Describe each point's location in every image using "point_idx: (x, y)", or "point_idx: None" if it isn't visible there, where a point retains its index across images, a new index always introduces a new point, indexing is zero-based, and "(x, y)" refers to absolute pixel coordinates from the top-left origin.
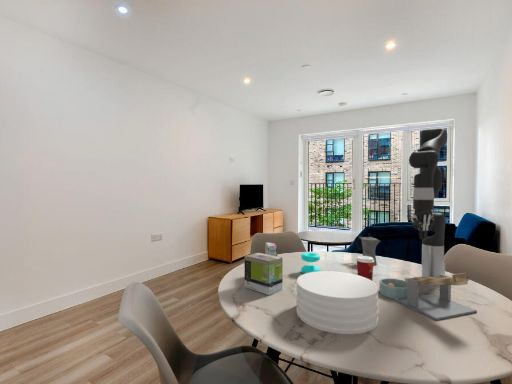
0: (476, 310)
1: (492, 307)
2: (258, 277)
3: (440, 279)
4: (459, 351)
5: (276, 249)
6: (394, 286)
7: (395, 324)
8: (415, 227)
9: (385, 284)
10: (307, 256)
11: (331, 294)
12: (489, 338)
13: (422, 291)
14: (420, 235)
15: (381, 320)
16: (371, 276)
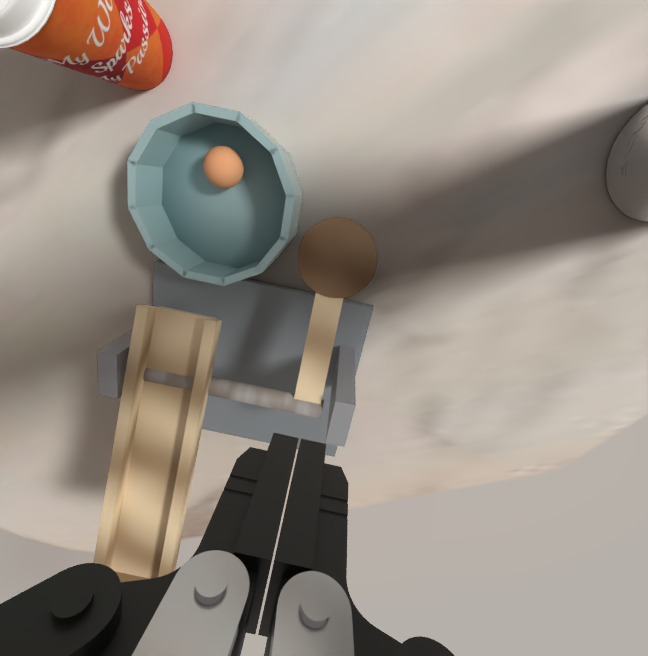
0: (332, 455)
1: (431, 462)
2: None
3: (103, 518)
4: (69, 497)
5: None
6: (227, 186)
7: (14, 365)
8: (23, 616)
9: (224, 122)
10: None
11: None
12: (192, 511)
13: (379, 250)
14: (235, 492)
15: None
16: (96, 72)
